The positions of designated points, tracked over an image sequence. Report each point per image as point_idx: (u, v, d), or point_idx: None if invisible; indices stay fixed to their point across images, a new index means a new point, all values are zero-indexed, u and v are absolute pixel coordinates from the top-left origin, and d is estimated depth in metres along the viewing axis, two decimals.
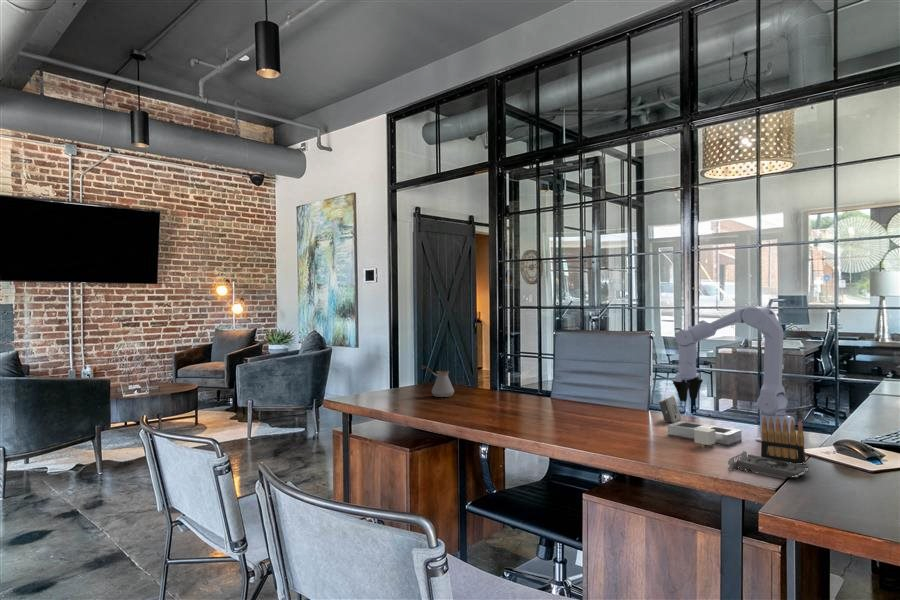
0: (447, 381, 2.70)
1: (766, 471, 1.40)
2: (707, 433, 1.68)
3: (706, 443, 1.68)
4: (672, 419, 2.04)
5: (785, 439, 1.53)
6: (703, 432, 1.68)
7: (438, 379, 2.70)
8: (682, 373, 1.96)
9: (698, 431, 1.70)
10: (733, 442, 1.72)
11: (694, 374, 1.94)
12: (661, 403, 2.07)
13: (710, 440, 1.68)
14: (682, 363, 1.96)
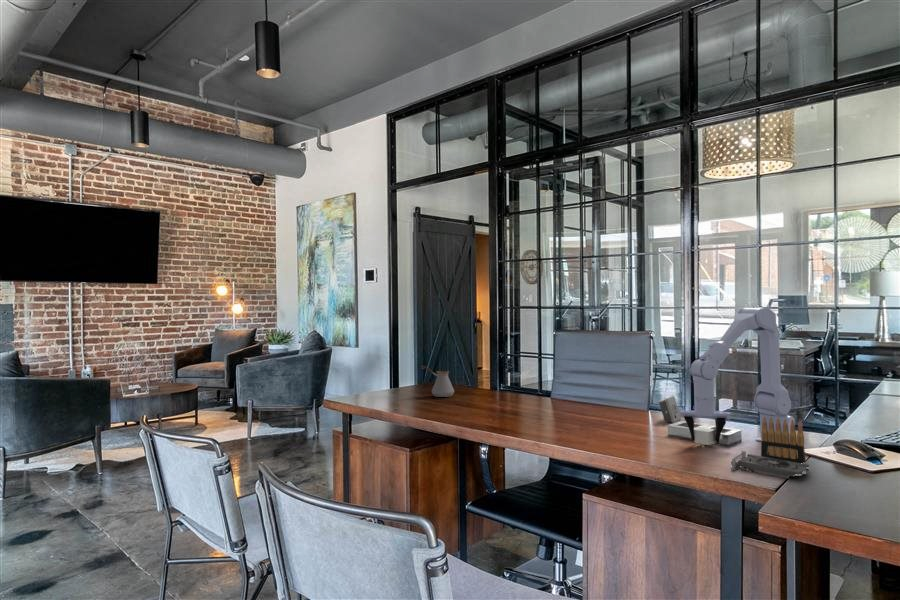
0: (447, 381, 2.70)
1: (769, 471, 1.41)
2: (707, 433, 1.68)
3: (706, 443, 1.68)
4: (672, 419, 2.04)
5: (785, 439, 1.53)
6: (703, 432, 1.68)
7: (438, 379, 2.70)
8: None
9: (698, 431, 1.70)
10: (733, 442, 1.72)
11: (703, 412, 1.68)
12: (661, 403, 2.07)
13: (710, 440, 1.68)
14: (694, 398, 1.72)
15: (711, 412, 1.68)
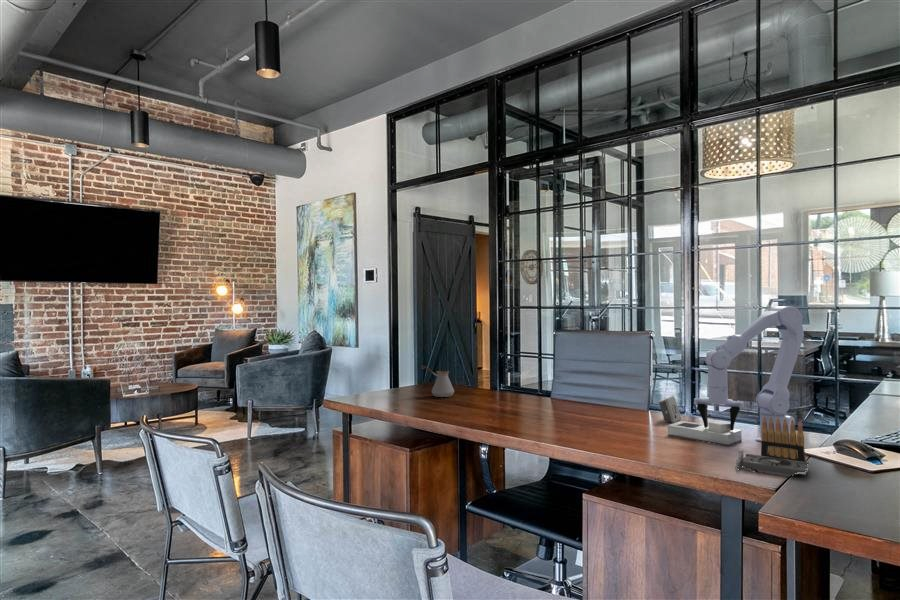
0: (447, 381, 2.70)
1: (774, 470, 1.41)
2: (719, 425, 1.74)
3: None
4: (672, 419, 2.04)
5: (785, 439, 1.53)
6: (716, 424, 1.75)
7: (438, 379, 2.70)
8: None
9: (712, 423, 1.77)
10: (733, 442, 1.72)
11: (714, 400, 1.75)
12: (661, 403, 2.07)
13: (722, 432, 1.74)
14: None
15: (723, 400, 1.74)
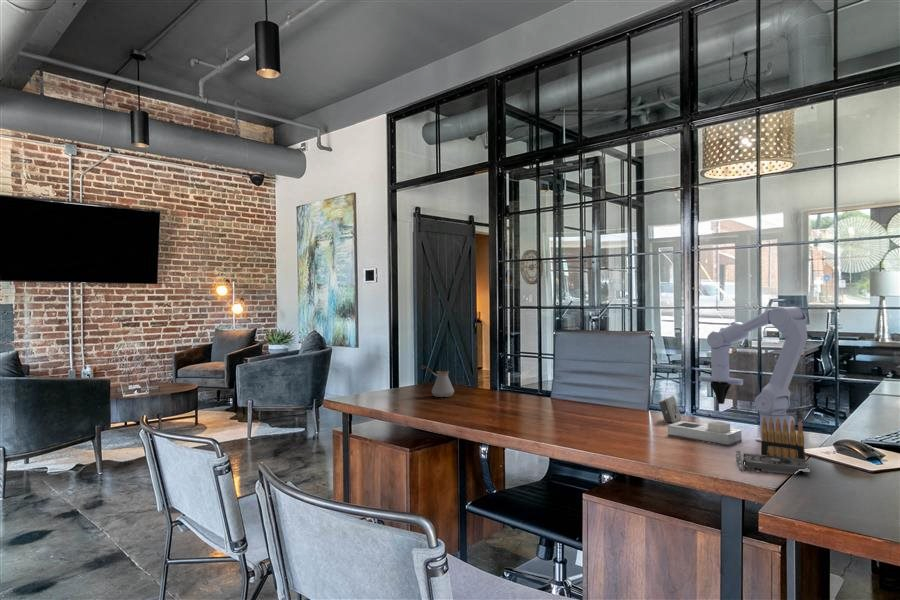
0: (447, 381, 2.70)
1: (779, 469, 1.42)
2: (719, 426, 1.74)
3: None
4: (672, 419, 2.04)
5: (785, 439, 1.53)
6: (715, 425, 1.75)
7: (438, 379, 2.70)
8: None
9: (711, 424, 1.77)
10: (733, 442, 1.72)
11: (715, 377, 1.91)
12: (661, 403, 2.07)
13: None
14: None
15: (722, 377, 1.89)
